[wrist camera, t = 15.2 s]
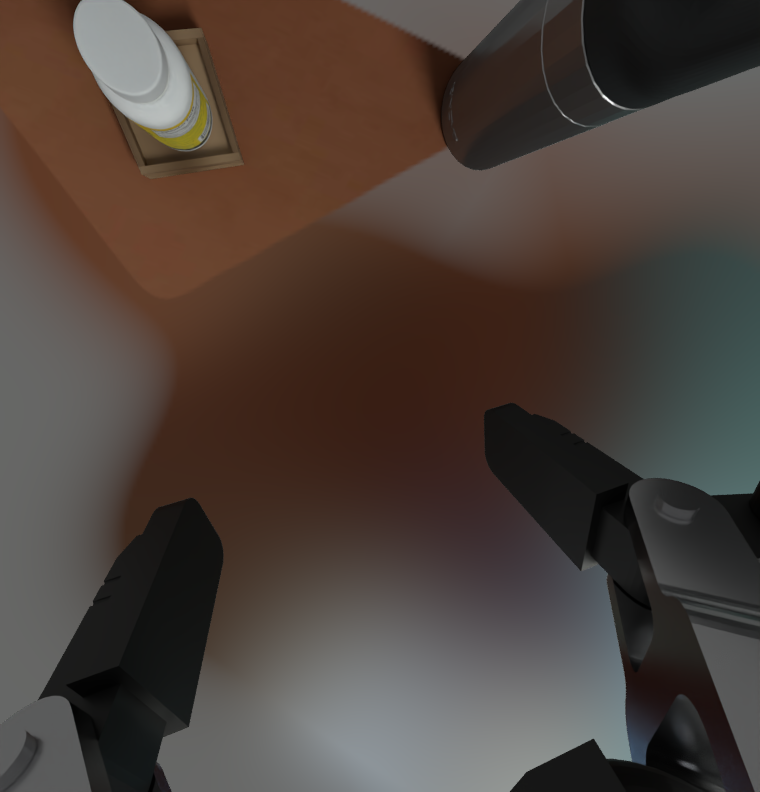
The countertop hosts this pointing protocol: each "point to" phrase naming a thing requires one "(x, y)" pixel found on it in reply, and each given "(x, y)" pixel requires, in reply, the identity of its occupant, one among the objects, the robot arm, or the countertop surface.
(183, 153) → the wooden tray
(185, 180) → the countertop surface
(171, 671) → the robot arm
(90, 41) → the supplement bottle
